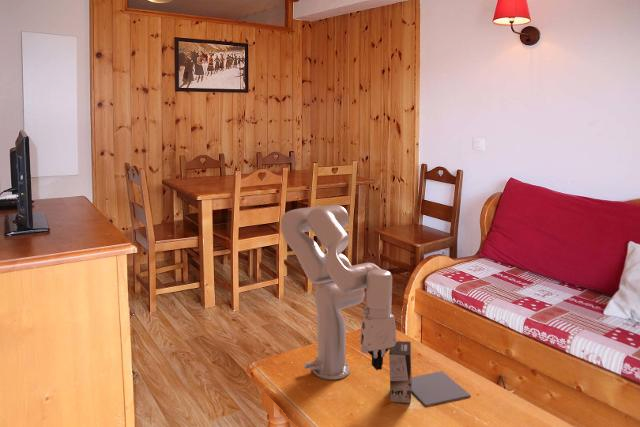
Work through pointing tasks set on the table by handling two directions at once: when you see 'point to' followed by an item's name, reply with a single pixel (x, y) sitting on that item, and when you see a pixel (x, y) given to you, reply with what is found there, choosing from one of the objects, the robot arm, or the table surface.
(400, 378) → the coffee box
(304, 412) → the table surface
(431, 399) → the mat
